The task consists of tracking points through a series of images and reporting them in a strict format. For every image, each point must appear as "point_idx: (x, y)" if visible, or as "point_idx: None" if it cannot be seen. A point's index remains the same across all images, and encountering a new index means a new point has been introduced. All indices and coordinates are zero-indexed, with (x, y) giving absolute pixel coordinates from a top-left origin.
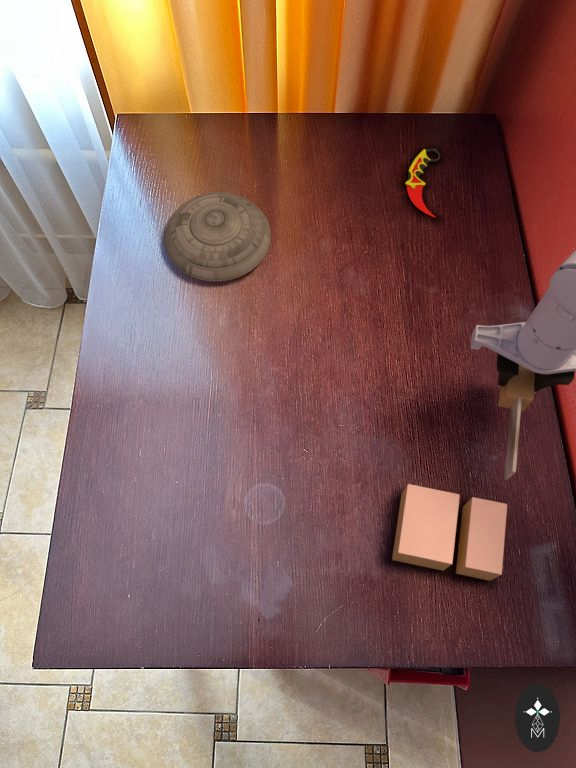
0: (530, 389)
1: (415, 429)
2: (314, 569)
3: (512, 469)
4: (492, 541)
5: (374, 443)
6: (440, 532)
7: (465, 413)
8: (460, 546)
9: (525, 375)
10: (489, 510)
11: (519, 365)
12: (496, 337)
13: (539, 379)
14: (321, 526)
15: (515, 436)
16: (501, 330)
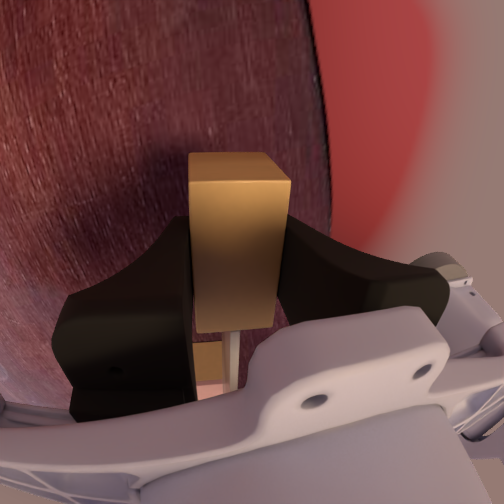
0: (264, 305)
1: (75, 262)
2: (60, 404)
3: None
4: None
5: (34, 296)
6: None
7: (149, 210)
8: None
9: (249, 271)
10: (209, 393)
11: (226, 243)
12: (45, 489)
13: (291, 309)
14: (42, 379)
15: None
16: (41, 481)
